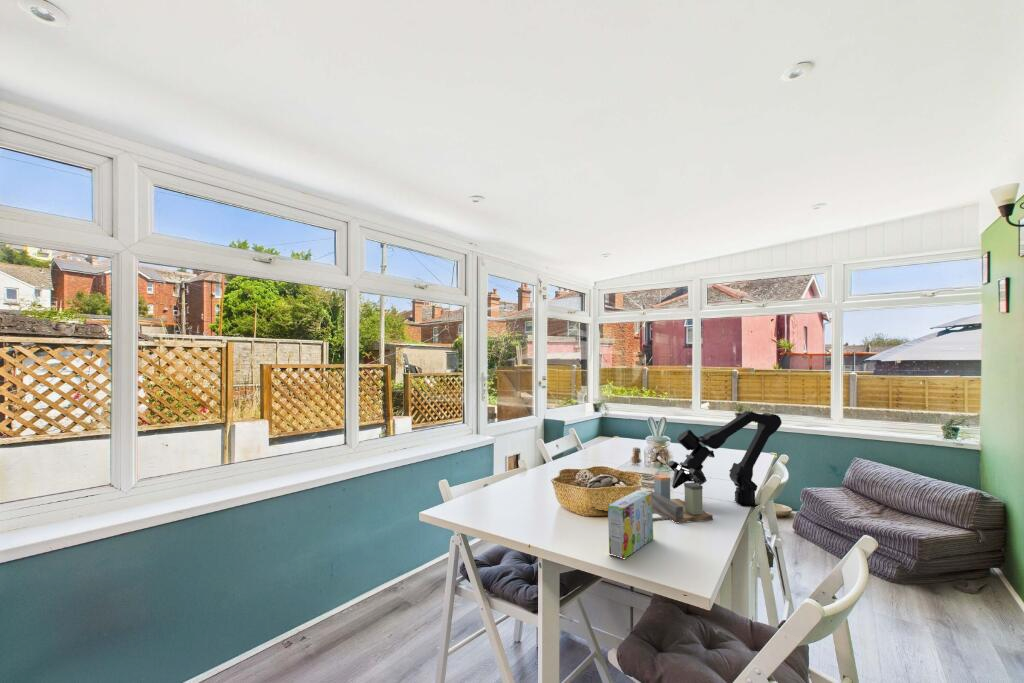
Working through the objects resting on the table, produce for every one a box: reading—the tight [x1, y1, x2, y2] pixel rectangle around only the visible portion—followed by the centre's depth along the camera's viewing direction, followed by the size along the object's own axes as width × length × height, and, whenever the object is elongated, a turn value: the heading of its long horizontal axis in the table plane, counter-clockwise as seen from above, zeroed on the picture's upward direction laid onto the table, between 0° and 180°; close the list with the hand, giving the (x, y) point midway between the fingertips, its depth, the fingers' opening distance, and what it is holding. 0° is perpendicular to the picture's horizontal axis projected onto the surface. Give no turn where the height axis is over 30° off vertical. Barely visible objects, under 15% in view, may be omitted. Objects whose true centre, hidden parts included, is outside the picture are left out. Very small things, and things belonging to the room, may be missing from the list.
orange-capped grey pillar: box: [653, 474, 671, 500], centre depth 184 cm, size 4×5×10 cm
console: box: [646, 490, 714, 523], centre depth 177 cm, size 15×22×6 cm
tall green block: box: [683, 481, 704, 515], centre depth 171 cm, size 4×5×10 cm
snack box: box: [607, 489, 654, 559], centre depth 144 cm, size 21×6×15 cm, turn 141°
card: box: [652, 508, 670, 521], centre depth 175 cm, size 8×14×1 cm, turn 13°
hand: (673, 487), depth 185 cm, fingers closed
